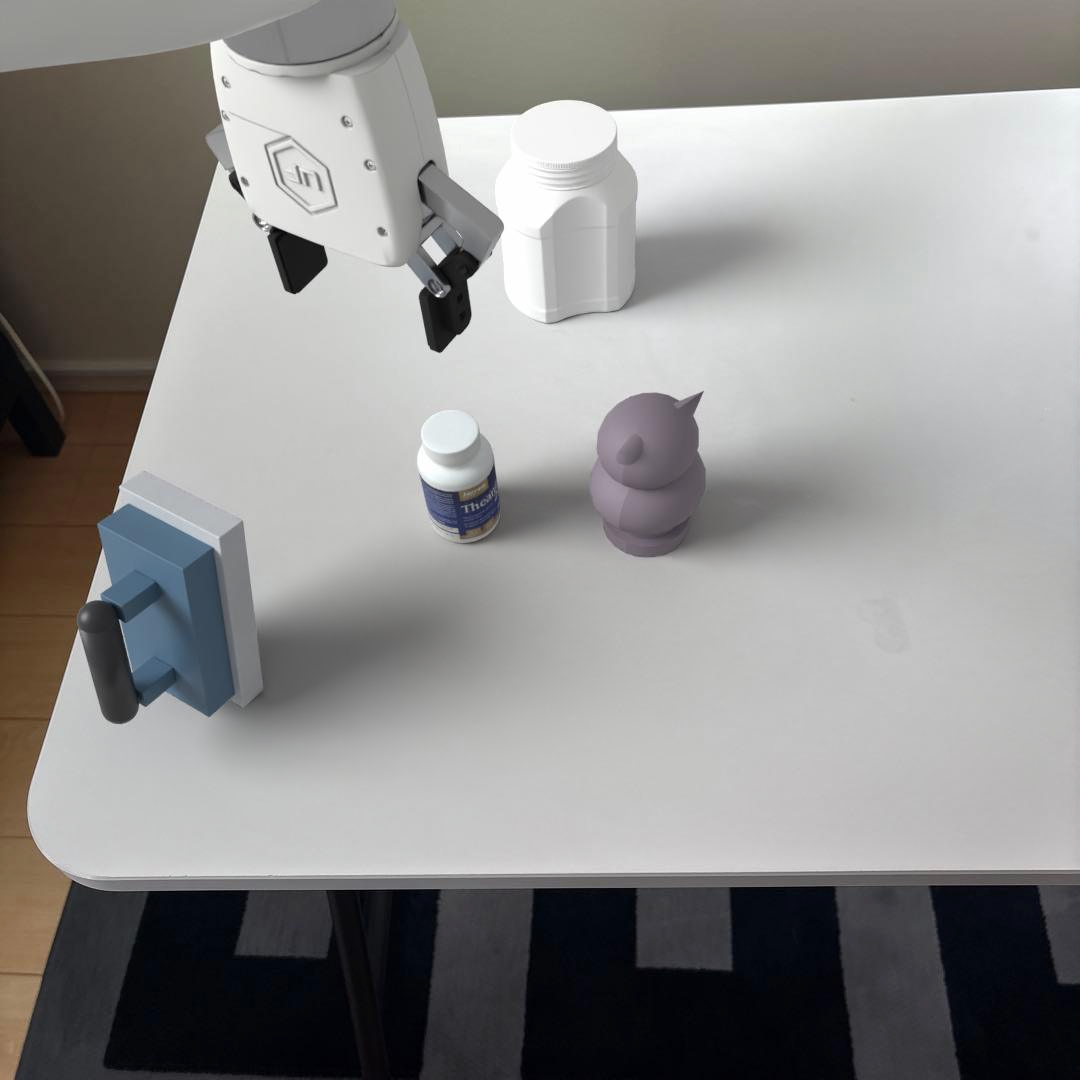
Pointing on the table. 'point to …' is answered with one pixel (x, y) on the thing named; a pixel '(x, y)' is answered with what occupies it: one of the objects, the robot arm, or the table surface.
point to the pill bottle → (458, 477)
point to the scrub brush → (171, 605)
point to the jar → (567, 213)
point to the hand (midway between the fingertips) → (377, 306)
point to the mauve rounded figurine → (648, 472)
